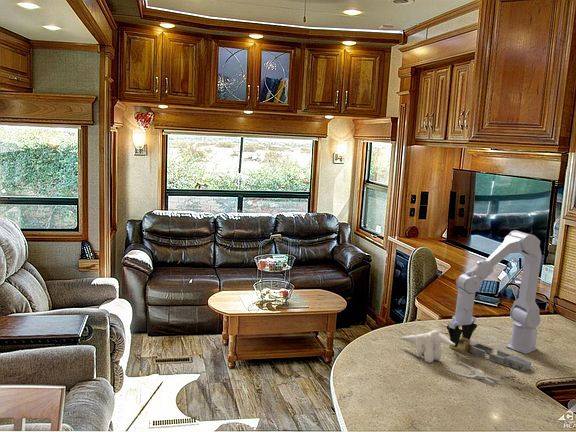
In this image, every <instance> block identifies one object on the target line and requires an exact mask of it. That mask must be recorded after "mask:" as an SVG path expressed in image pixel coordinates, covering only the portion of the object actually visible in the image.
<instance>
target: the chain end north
mask: <svg viewBox="0 0 576 432" xmlns="http://www.w3.org/2000/svg"><path fill="white" fill-rule="evenodd" d="M488 356H489V357H488V360H489V361H491V362H494V363H496V362H497V363H496V364H499V363H500V364H499V365H501V364H502V365H501V366H504V365H505V366H507V365H508V366H507V367H509V368H512V367H513V368H512V369H516V370H519V371H520V372H523V373H526V372H528V371H529V370H531V367H532V364H533V363H532V361H529V360H526V359H523V358H520V357H519V356H515V355H514V354H511V353H508V352H506V351H504V350H500V349H498V350H497V352H496V354H494V353H493V354H492V353H490V354H489V355H488ZM503 364H504V365H503Z"/></svg>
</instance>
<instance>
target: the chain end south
mask: <svg viewBox="0 0 576 432" xmlns="http://www.w3.org/2000/svg"><path fill="white" fill-rule="evenodd" d="M469 352H470V353H471V354H473V355H475V354H476V355H475V356H478V357H481V358H486V354H489V355H490V353H492V354H494V347H493V346H489V345H486V344H483V343H481V342H477V341H474V340H471V339H470V346H469Z"/></svg>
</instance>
